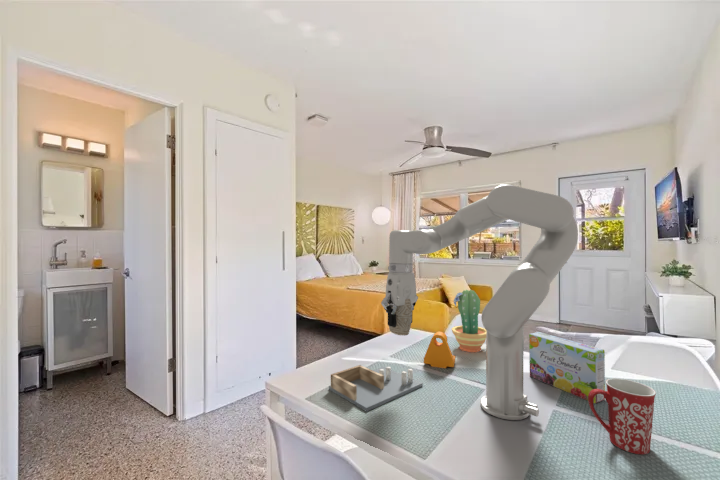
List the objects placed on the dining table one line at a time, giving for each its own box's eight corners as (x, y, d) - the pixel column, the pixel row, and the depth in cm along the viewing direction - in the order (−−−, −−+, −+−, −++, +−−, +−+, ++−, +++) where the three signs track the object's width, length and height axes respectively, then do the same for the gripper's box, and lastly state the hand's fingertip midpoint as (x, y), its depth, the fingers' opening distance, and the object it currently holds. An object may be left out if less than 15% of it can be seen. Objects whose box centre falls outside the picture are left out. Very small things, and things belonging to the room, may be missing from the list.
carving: (413, 337, 105) (413, 298, 105) (389, 336, 105) (389, 298, 105) (410, 331, 111) (411, 295, 111) (387, 330, 112) (388, 294, 111)
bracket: (455, 362, 128) (455, 331, 128) (453, 369, 122) (453, 336, 122) (427, 359, 132) (427, 328, 132) (423, 365, 126) (423, 333, 126)
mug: (645, 437, 80) (645, 381, 80) (664, 461, 71) (664, 398, 71) (583, 427, 84) (582, 373, 84) (594, 449, 76) (594, 389, 76)
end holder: (383, 388, 104) (383, 375, 104) (353, 400, 97) (353, 386, 97) (359, 376, 113) (359, 364, 113) (330, 387, 105) (330, 374, 105)
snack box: (528, 377, 115) (528, 333, 115) (538, 374, 117) (538, 331, 117) (595, 404, 96) (595, 351, 96) (606, 400, 98) (606, 348, 98)
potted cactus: (464, 340, 155) (464, 286, 155) (496, 349, 143) (496, 290, 143) (444, 347, 145) (444, 290, 145) (476, 357, 133) (476, 294, 133)
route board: (422, 386, 108) (422, 370, 108) (366, 411, 93) (366, 393, 92) (383, 369, 122) (383, 355, 122) (328, 389, 106) (328, 373, 106)
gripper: (390, 271, 99) (389, 331, 100) (427, 268, 111) (426, 322, 111) (372, 269, 105) (372, 326, 105) (410, 266, 116) (409, 317, 117)
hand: (400, 323), depth 108 cm, fingers closed on carving, 6 cm apart
